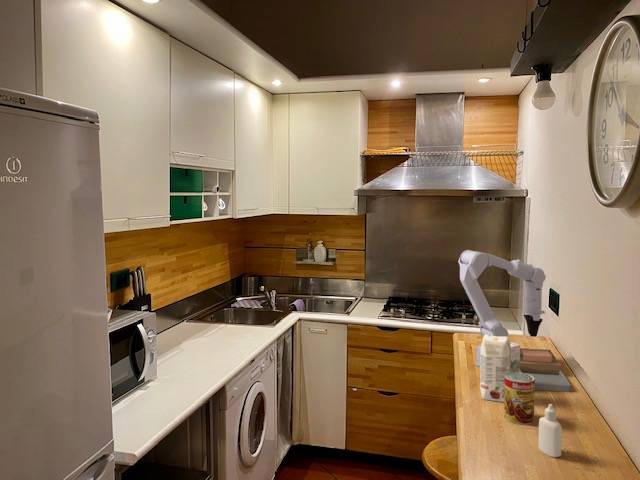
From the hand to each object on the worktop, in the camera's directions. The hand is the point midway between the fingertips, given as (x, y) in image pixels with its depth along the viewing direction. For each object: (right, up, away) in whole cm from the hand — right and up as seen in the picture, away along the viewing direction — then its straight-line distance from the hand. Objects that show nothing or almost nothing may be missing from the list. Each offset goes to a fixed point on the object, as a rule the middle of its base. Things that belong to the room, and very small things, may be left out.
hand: (532, 335), depth 186 cm
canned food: (-24, -15, -46) cm, 54 cm away
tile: (-2, -7, -7) cm, 10 cm away
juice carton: (-25, -14, -31) cm, 42 cm away
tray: (-5, -12, -20) cm, 23 cm away
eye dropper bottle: (-23, -16, -65) cm, 71 cm away
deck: (-1, -11, -4) cm, 12 cm away
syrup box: (-18, -13, -22) cm, 32 cm away
